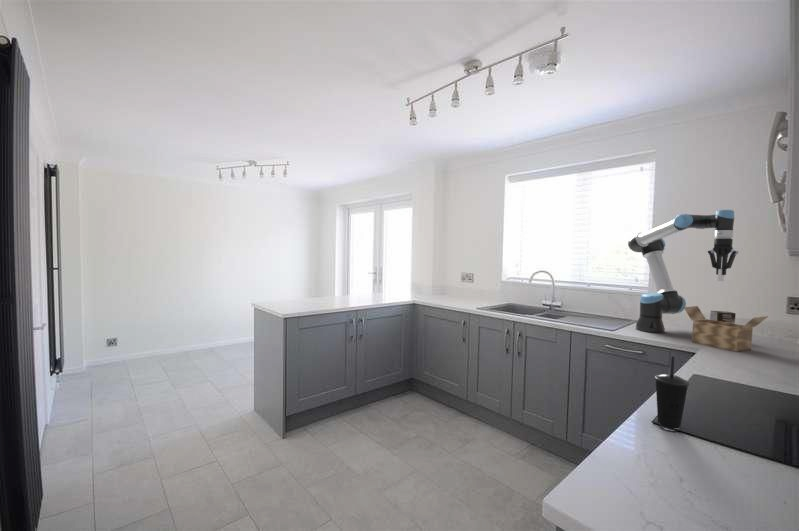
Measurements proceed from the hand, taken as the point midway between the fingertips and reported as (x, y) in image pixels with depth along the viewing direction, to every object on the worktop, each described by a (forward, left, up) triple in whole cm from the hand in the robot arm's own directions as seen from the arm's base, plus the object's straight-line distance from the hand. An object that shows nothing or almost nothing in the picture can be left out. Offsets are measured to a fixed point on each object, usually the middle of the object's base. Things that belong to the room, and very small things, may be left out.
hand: (720, 280), depth 196 cm
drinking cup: (+51, -133, -35) cm, 147 cm away
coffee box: (-3, +11, -35) cm, 36 cm away
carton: (+5, -7, -34) cm, 35 cm away
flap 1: (-8, -7, -19) cm, 22 cm away
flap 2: (+18, -7, -19) cm, 27 cm away
